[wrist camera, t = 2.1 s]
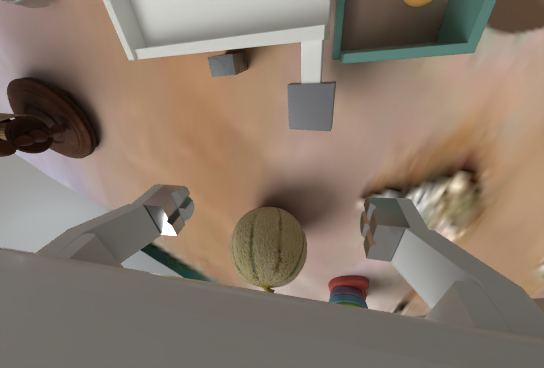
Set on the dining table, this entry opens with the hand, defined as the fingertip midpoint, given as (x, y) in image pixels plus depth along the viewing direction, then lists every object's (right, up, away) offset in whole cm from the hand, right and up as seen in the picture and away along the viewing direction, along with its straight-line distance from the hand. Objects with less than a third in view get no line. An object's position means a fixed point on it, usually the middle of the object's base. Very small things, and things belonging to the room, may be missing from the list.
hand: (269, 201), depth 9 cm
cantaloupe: (+1, -7, +35) cm, 35 cm away
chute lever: (-5, +16, +14) cm, 22 cm away
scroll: (-40, +14, +30) cm, 52 cm away
